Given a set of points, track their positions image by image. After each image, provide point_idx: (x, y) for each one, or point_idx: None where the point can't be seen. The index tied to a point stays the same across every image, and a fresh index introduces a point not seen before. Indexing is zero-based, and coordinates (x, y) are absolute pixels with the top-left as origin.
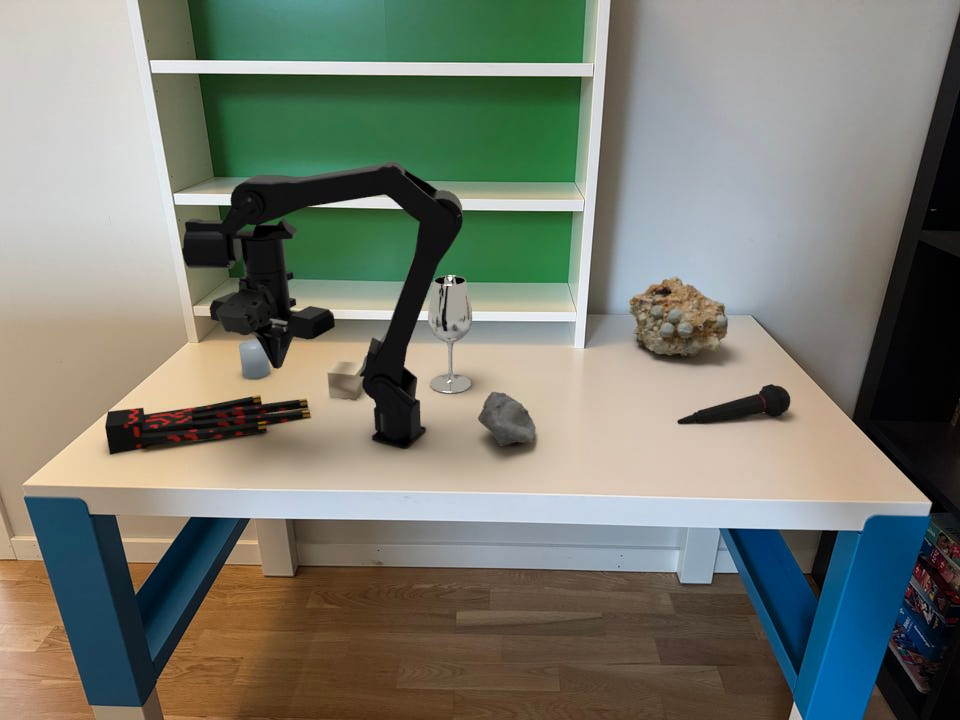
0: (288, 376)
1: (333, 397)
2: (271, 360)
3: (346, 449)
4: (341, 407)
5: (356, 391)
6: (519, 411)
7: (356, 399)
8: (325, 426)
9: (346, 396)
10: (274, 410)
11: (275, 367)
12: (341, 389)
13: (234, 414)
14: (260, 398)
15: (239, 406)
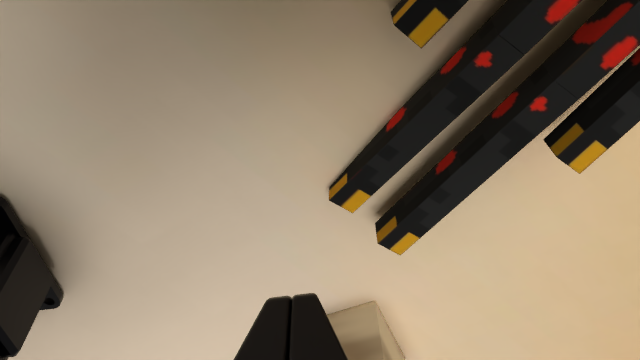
0: (611, 323)
1: (361, 307)
2: (308, 352)
3: (7, 101)
4: (289, 281)
5: None
6: None
7: None
8: (227, 174)
9: None
10: (469, 141)
11: (283, 302)
12: None
13: (616, 8)
14: (557, 155)
15: (631, 68)
